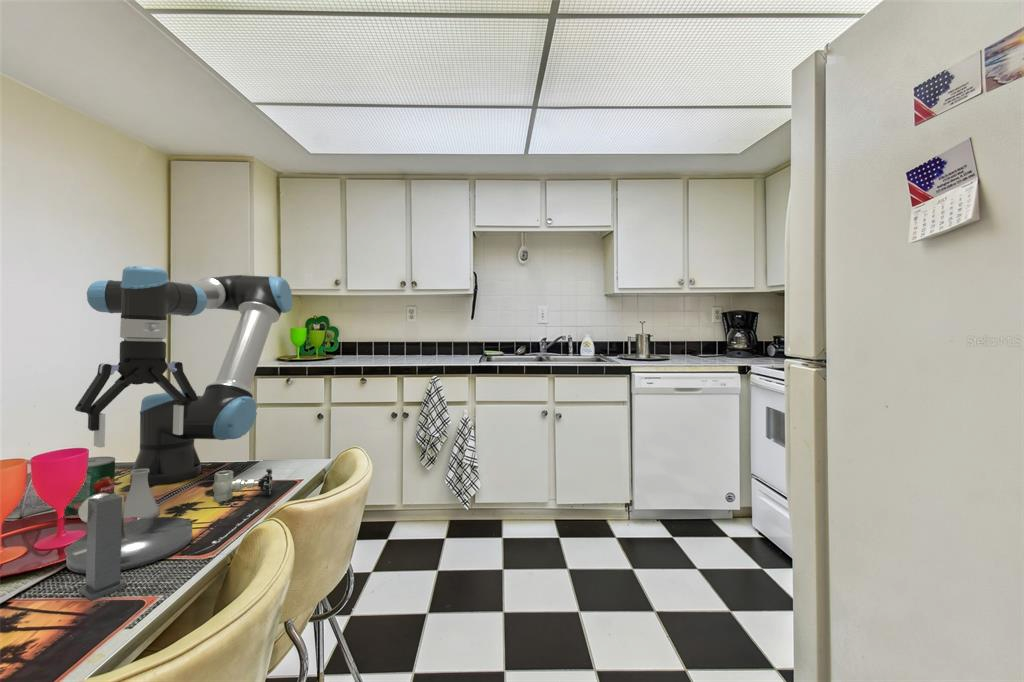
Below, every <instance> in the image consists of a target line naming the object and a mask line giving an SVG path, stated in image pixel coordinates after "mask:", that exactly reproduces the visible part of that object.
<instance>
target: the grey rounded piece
mask: <svg viewBox="0 0 1024 682" xmlns="http://www.w3.org/2000/svg"><path fill="white" fill-rule="evenodd" d="M115 494H116V495H118V496H120V497H122V529H121V566H120V571H125V570H130V569H134V568H138V567H142V566H145V565H147V564H148V565H149V564H151V563H155V562H157V561H160V560H162V559H165V558H167V557H169V556H171V555H174V554H176V553H177V552H179V551H180V550H183V549H184V548H185V547H186V546H187V545H189V544H190V542H191V541H192V539H193V523H192V521H191V520H188V519H187V518H184V517H179V516H155V517H153V518H146V519H139V520H134V521H129V522H124V502H125V493H123V492H118V493H115ZM65 560H66V562H65V563H66V567H67V569H68V570H70V571H72V572H73V573H78V574H86V560H87V534H86V535H84V536H82V537H80V538H78V539H76V540H75V541H73V542H72V543H71V544H70V545H69V546H68V547H67V549H66V559H65Z"/></svg>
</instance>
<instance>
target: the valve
mask: <svg viewBox="0 0 1024 682" xmlns="http://www.w3.org/2000/svg"><path fill="white" fill-rule="evenodd" d="M266 473H267V474H265V475H263V476H262V477H261V478H259V479H258V480H256V481H255V479H247V481H246V480H243V478H242V477H240V478H236V479H235V480H234V471H233V470H231V469H230V470H229V469H227V470H220V471H217V472H215V473H214V482H213V485H212V490H213V493H214V494H213V501H214V502H215V501H216V502H215V503H223V502H222V501H226V502H228V501H227V500H229V499H231V498H233V495H234V492H233V491H235V492H241V491H242V490H243V489H245V488H247V489H251V488H254V487H255V486H257V487H258V488H260V490H261V492H264V496H266V495H269V496H271V495H270V494H271V493H272V491H271V490H272V488H273V485H272V482H273V476H272V474H273V469H272V468H267V469H266ZM231 500H232V499H231ZM229 501H230V500H229Z"/></svg>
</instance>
